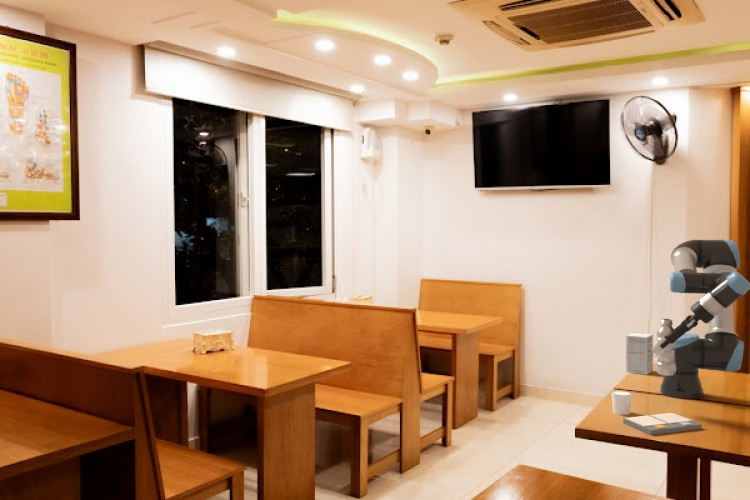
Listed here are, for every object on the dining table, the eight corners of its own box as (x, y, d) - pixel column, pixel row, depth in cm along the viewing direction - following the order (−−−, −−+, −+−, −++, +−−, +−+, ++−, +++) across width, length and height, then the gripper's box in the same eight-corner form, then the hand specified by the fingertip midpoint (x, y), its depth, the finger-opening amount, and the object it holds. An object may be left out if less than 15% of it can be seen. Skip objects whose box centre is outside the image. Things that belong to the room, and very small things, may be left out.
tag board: (671, 417, 218) (671, 412, 218) (701, 428, 206) (701, 423, 205) (623, 422, 212) (623, 417, 212) (650, 435, 200) (650, 429, 200)
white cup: (633, 415, 220) (633, 396, 219) (612, 414, 221) (613, 395, 221) (629, 410, 226) (630, 390, 226) (609, 409, 228) (609, 390, 228)
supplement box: (653, 371, 286) (654, 334, 286) (647, 375, 279) (648, 337, 279) (631, 368, 292) (632, 332, 292) (625, 372, 285) (625, 334, 285)
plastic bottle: (652, 373, 229) (652, 318, 228) (670, 372, 229) (670, 317, 228) (661, 377, 222) (662, 321, 221) (680, 377, 223) (680, 320, 222)
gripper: (714, 320, 209) (660, 364, 218) (716, 313, 226) (665, 354, 234) (697, 303, 211) (643, 347, 220) (700, 297, 228) (650, 338, 237)
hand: (655, 350), depth 227 cm, fingers closed on plastic bottle, 6 cm apart
